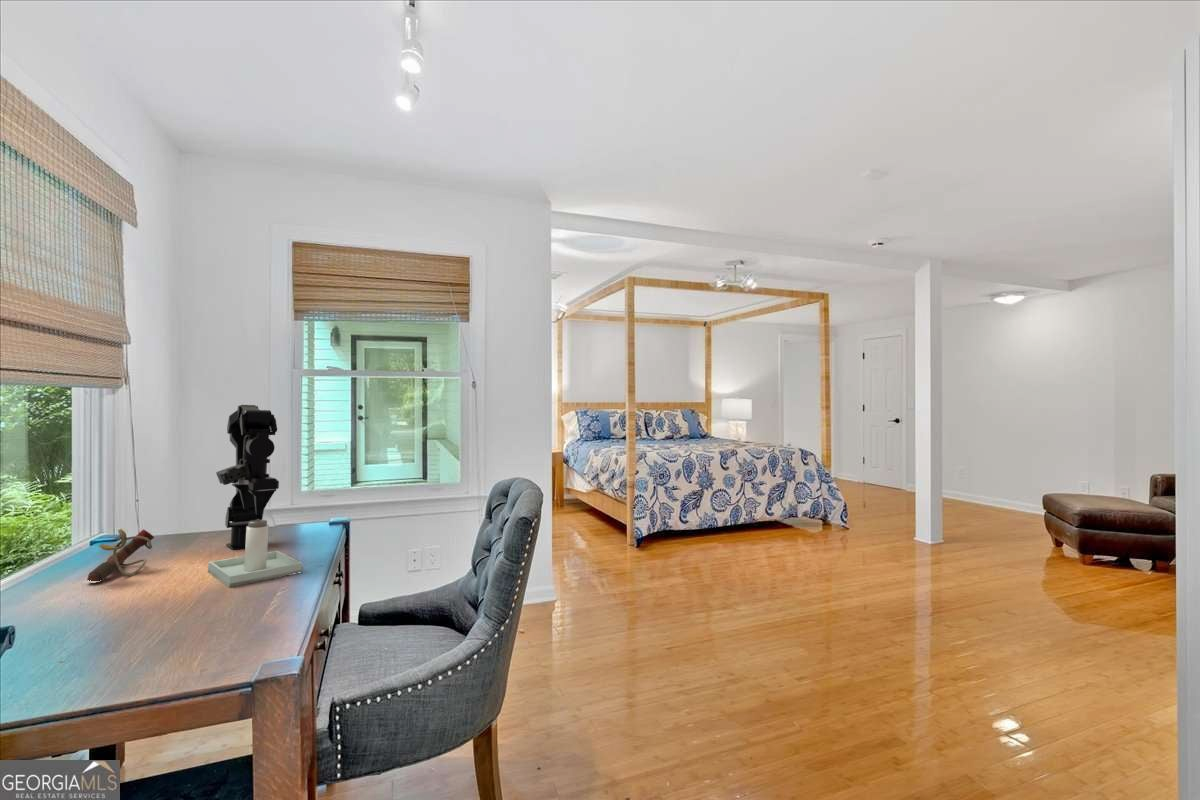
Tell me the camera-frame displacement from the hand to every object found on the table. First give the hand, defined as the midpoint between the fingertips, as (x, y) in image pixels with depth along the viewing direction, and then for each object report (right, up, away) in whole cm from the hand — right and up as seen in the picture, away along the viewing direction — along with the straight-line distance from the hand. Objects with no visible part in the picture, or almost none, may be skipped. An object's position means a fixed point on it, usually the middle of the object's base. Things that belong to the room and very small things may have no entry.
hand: (252, 512), depth 148 cm
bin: (+8, -13, -11) cm, 19 cm away
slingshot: (-21, -12, -16) cm, 29 cm away
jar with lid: (+8, -12, -11) cm, 18 cm away
